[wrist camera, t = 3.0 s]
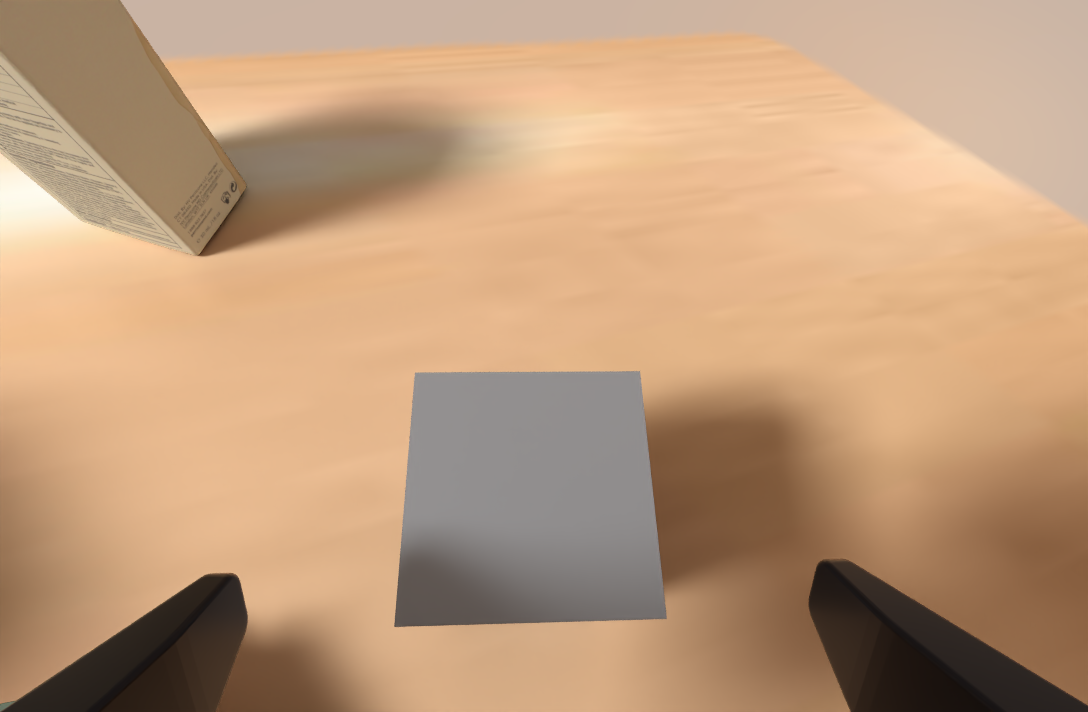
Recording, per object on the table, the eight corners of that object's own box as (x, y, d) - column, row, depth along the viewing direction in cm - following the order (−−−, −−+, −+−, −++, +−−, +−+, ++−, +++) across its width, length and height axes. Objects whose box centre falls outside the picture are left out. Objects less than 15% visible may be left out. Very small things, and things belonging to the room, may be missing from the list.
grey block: (599, 612, 18) (666, 619, 10) (450, 616, 18) (394, 626, 10) (590, 465, 20) (640, 371, 12) (456, 467, 20) (414, 372, 12)
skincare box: (252, 187, 25) (42, -142, 14) (197, 263, 23) (-92, -47, 12) (132, 152, 26) (-160, -191, 15) (69, 223, 24) (-319, -108, 13)
